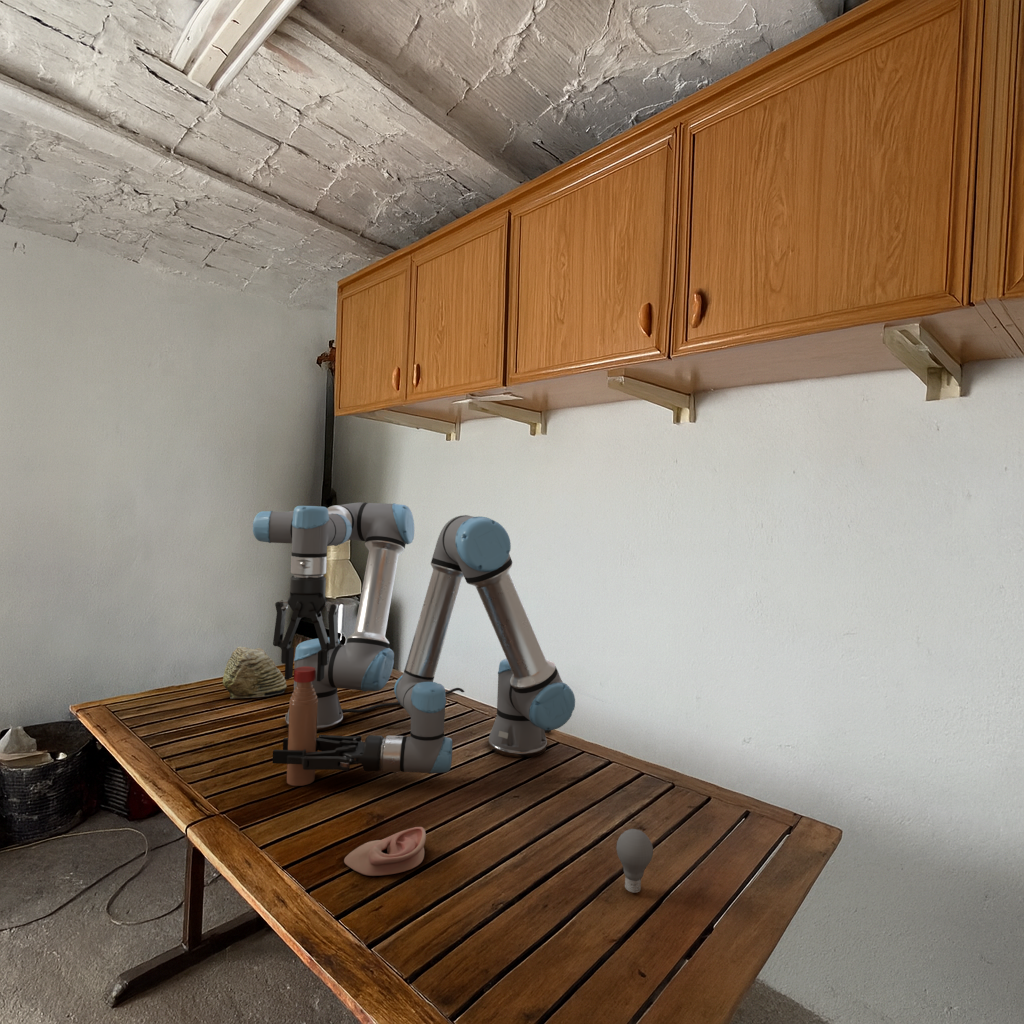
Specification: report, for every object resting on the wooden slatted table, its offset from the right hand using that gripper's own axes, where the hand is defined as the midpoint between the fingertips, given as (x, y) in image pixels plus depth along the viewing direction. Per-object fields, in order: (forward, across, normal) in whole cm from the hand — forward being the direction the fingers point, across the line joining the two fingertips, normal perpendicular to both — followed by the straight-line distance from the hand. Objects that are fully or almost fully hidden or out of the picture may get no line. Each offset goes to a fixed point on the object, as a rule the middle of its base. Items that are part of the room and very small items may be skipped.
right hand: (278, 750), depth 141 cm
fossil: (+26, +58, -6) cm, 64 cm away
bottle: (-5, 0, -6) cm, 8 cm away
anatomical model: (-29, -30, -6) cm, 42 cm away
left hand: (-5, 0, +16) cm, 17 cm away
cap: (-5, 0, +18) cm, 19 cm away
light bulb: (-71, -38, -6) cm, 81 cm away
